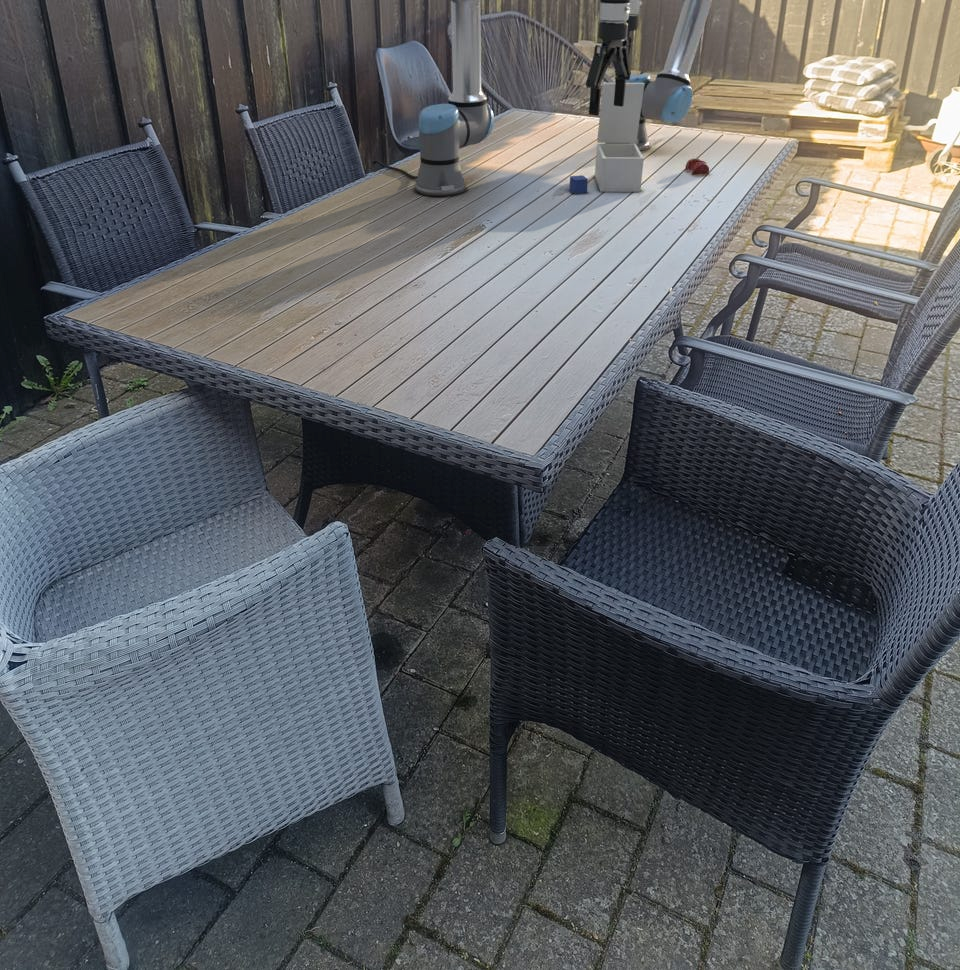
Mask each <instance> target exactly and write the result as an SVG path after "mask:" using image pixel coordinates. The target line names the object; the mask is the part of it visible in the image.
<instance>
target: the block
mask: <svg viewBox="0 0 960 970" xmlns="http://www.w3.org/2000/svg"><path fill="white" fill-rule="evenodd" d="M588 180H589V179H588V178H587V177H585V175H583V174H581V175H571V176H569V185H568V186H569V189H568V190H569V192H571V193H572V194H573V195H578V194H579V195H580V194H587V193H588V184H589V183H588V182H589V181H588Z"/></svg>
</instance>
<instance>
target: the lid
mask: <svg viewBox="0 0 960 970" xmlns="http://www.w3.org/2000/svg"><path fill="white" fill-rule="evenodd" d="M615 83H616V82H615V81H610V82H603V83H602V89H601V98H600V110H599V119H598V128H597V129H598V130H597V138H596V142H597V144H605V143H636V141H637V134H638V127H639V119H640V112H641V105H642V98H643V91H644V83H629V82H626V85H625V96H624V106H623V107H621V106H614V95H615Z"/></svg>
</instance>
